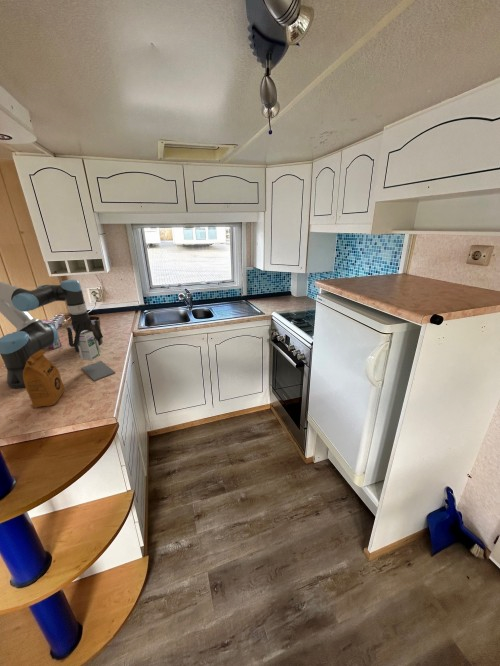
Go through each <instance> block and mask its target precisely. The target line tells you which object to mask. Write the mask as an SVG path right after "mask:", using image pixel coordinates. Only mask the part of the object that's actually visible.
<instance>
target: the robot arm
mask: <svg viewBox="0 0 500 666" xmlns="http://www.w3.org/2000/svg"><path fill="white" fill-rule="evenodd" d="M64 301H65V303H66V306H67V309H68V313H69V317H70V321H72V325H69V326H65V329H66V332H67V337H68V346H70V347H71V348H74V350H75V352H76V353H78V355H79V357H80V358H81V359H83V355H82V351H81V348H80V346H79V345H78V342H79V337H80V333H81V331H84V330H89V331H90V332H93V335H94V337H95V338H96V339H95V340H96V343H97V347H98V350H99V353H101V352H102V351H101V348H100V346H101V345H102V344H101V343H100V339H101V338H102V339H103V338H104V335H103V333H102V330H101V331H100V329H99V327H98V322H97V321H96V320H90V319H89V316H90V315H89V312H88V311H87V310H88V307H87V305H86V301H85V298H84V293H83V288H82V287H81V284H80V281H79V280H77V279H66V280H62V281H61V282H60V284H40V285H39V286H37V288H34V289H32V290H31V289H27V288H26V289H25V288H22V287H18V286H16V285H13V284H9V283H5V282H2V281H0V314H2V315H3V317H5V319H6V320H7V321H9V322H10V323H11V324H12V326H13V327H14V328H15V329H16V330H15V331H14V332H10V333H8V334H6V335H3V336H2V337H0V356H1V359H2V361H3V364H4V366H5V368H6V372H7V375H6V376H7V377H6V384H7V385H8V388H10V389H14V388H15V389H24V388H25V389H26V387H25V384H24V380H23V370H24V368H25V365H26V362H27V360H28V359H29V358H30V356H32V355H33V354H35V353H36V352H38V351H39V350H41V349H42V350H43V351H45V349H47V348H49V347H50V346H51V345H52V344H54V343H55V342H56V341H57V339H58V336H59V333H58V330H57V328H55V327H54V326H53V325H51V324H48V323H43V322H42V321H41V320H42V319H40V318H35V317H34V316H33V315H32V314H30V313H29V312H30V311H34V310H36V309H38V308H41V307H43V306H46V305H48V304H51V303H53V302H64ZM91 323H92V324H93V325H94V327H95V329H96V331H97V333H98V336H97V335H96V334H95V333H94V331H93V330H92V329H91V328H90V325H91ZM73 327H74V328H75V329H76V333H75V335H74V338H73Z"/></svg>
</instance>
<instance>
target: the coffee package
mask: <svg viewBox="0 0 500 666" xmlns="http://www.w3.org/2000/svg"><path fill="white" fill-rule="evenodd" d="M45 353H46V352H45V350H42V349H41V350H39V351H38V352H36V353H35V354H33V355H32V356H30V358H29V359H28V360H27V362H26V365H25V368H24V370H23V380H24V384H25V389H26V392H27V394H28V396H29V399H30V402H31V404H32V406H33V408H34V409H36V408H41V407H49V406H52V405H55V404H57V402H58V401H59V399H60V398H61V397H62V395H63V393H64V392H65V389H66V388H65V385H64V383H63V381H62V378H61V377H62V376H61V373H60V371H59V369H58V367H57V366H56V365H55V364H54V363H53V362H51V361H50V360H48V359H47V357H46V356H45V355H44V354H45Z"/></svg>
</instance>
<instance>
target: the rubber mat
mask: <svg viewBox="0 0 500 666" xmlns="http://www.w3.org/2000/svg"><path fill="white" fill-rule="evenodd" d="M81 370H82V371H83V372H84V373H85V374H86V375H87V376H88V377H89V378H91V380H93V381H94V382H96V381H98V379H99V380H101V379H103V377H104V378H106V377H109V376H111V374H112V375H114V374H116V371H114V369H112V368H111V367H110V366H109V365H107V364H106V363H104V361H102V360H100V361H96V362H94V363H91V364H89V365H86V366H83V367H81ZM108 375H109V376H108ZM100 378H101V379H100Z"/></svg>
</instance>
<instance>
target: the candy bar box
mask: <svg viewBox="0 0 500 666" xmlns="http://www.w3.org/2000/svg"><path fill="white" fill-rule="evenodd" d="M40 320H41V321H42V322H43V323H48V324H51V325H53V326H54V327H55V328H56V324H55V321H53V320H48V319H40ZM56 329H57V328H56ZM61 347H62V343H61V340H60V337H59V335H58V339H57V341H56V342H55V343H54V344H52V345H51V346H50V347H48V348H50V349H51V350H56V349H58V348H61Z"/></svg>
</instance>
